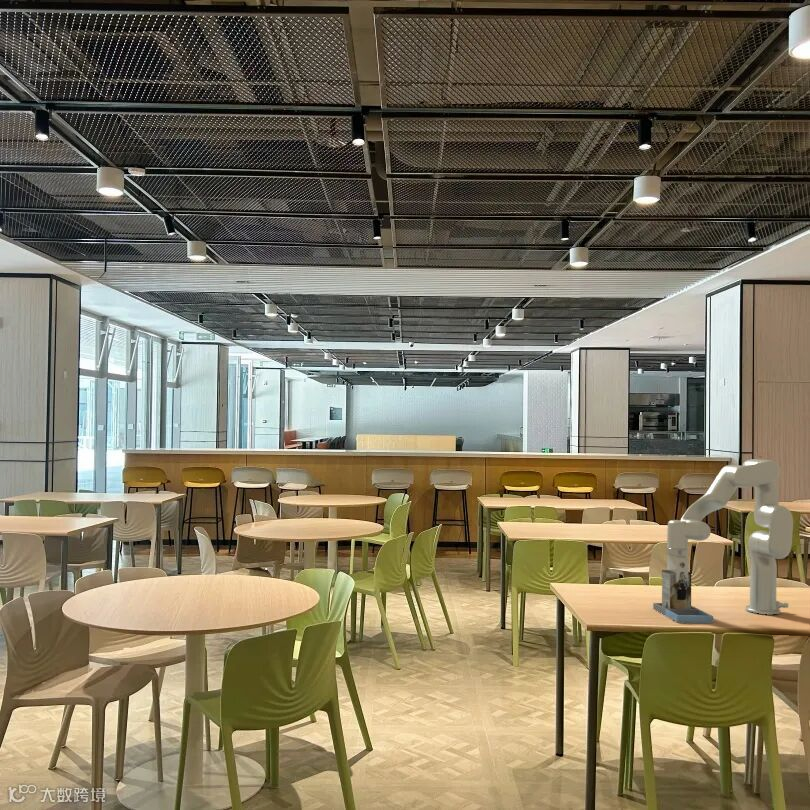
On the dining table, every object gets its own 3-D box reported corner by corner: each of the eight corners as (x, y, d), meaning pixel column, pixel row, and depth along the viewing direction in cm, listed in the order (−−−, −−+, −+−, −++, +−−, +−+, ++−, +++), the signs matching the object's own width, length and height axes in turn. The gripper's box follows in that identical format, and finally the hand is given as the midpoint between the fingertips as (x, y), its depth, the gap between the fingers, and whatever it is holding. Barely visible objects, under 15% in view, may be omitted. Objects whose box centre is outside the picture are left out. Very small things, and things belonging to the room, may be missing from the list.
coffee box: (682, 610, 309) (683, 569, 310) (691, 614, 303) (692, 572, 304) (660, 611, 308) (661, 569, 308) (669, 614, 301) (670, 572, 302)
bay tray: (686, 609, 311) (686, 603, 312) (713, 623, 290) (713, 616, 290) (653, 609, 310) (653, 602, 310) (677, 622, 289) (677, 615, 289)
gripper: (696, 556, 298) (695, 602, 297) (676, 549, 315) (675, 592, 314) (677, 555, 297) (676, 601, 297) (658, 549, 314) (657, 592, 314)
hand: (675, 597), depth 305 cm, fingers open, 9 cm apart
